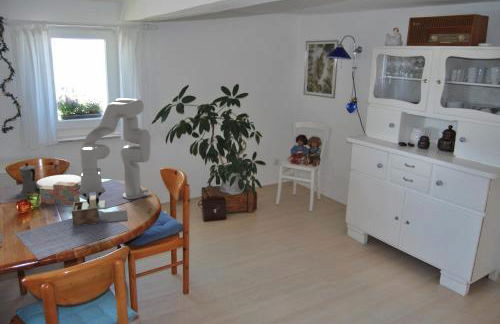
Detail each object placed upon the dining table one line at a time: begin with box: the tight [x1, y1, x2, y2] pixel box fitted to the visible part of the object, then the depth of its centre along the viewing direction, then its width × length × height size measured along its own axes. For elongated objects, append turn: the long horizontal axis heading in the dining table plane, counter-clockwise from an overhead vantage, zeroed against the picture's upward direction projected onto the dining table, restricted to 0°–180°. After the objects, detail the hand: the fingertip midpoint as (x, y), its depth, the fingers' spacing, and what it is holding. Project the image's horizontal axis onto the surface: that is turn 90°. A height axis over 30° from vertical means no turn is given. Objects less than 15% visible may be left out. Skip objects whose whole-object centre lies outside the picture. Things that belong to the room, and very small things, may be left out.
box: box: [71, 200, 100, 227], centre depth 218 cm, size 12×13×8 cm
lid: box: [81, 194, 106, 210], centre depth 217 cm, size 11×11×5 cm
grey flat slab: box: [100, 209, 128, 224], centre depth 223 cm, size 13×14×1 cm
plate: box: [36, 174, 81, 189], centre depth 270 cm, size 28×6×27 cm
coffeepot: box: [18, 162, 39, 193], centre depth 260 cm, size 15×9×18 cm, turn 53°
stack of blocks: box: [38, 181, 81, 207], centre depth 241 cm, size 21×6×12 cm, turn 81°
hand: (93, 204), depth 218 cm, fingers closed on lid, 3 cm apart
